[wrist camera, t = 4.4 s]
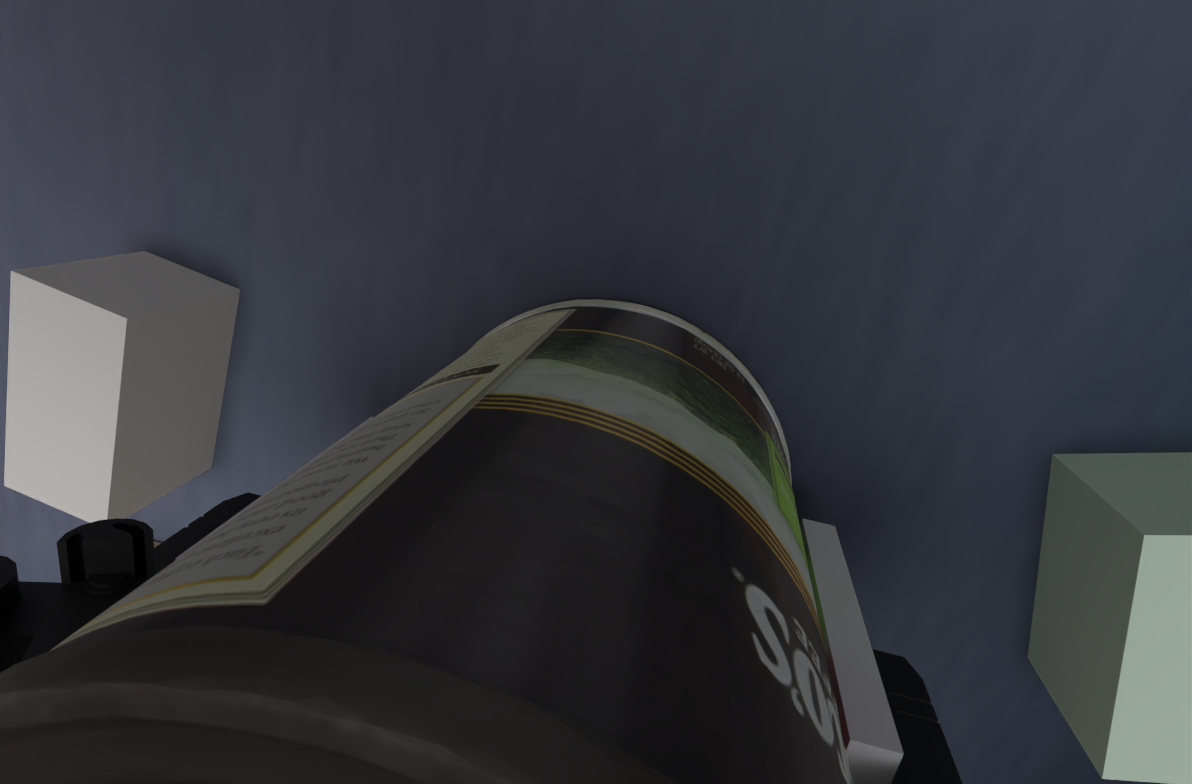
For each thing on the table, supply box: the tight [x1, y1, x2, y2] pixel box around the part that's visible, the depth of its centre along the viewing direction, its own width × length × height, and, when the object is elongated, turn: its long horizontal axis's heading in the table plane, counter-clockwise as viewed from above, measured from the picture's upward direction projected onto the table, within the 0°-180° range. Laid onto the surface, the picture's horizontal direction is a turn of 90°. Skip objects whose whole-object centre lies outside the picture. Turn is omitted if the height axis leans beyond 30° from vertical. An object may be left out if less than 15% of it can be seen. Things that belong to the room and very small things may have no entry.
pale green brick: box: [1028, 452, 1192, 784], centre depth 16 cm, size 6×3×4 cm, turn 6°
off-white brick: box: [4, 251, 240, 523], centre depth 19 cm, size 6×3×4 cm, turn 160°
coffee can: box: [0, 299, 853, 784], centre depth 12 cm, size 10×10×14 cm
